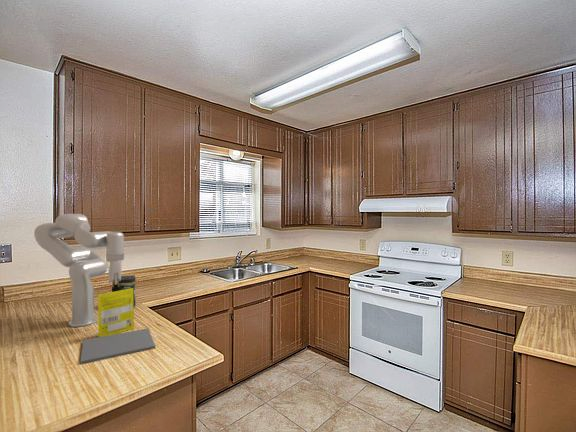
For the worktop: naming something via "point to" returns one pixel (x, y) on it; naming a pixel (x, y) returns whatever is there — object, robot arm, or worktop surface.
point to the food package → (115, 312)
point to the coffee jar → (128, 285)
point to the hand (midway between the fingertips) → (115, 294)
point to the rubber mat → (116, 345)
